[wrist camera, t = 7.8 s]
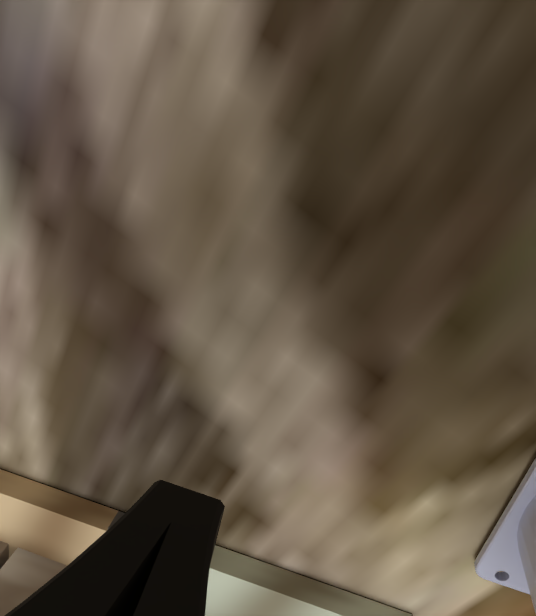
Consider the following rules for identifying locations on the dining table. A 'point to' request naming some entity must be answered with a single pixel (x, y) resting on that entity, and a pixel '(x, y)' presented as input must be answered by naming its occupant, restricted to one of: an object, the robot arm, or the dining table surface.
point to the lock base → (98, 519)
